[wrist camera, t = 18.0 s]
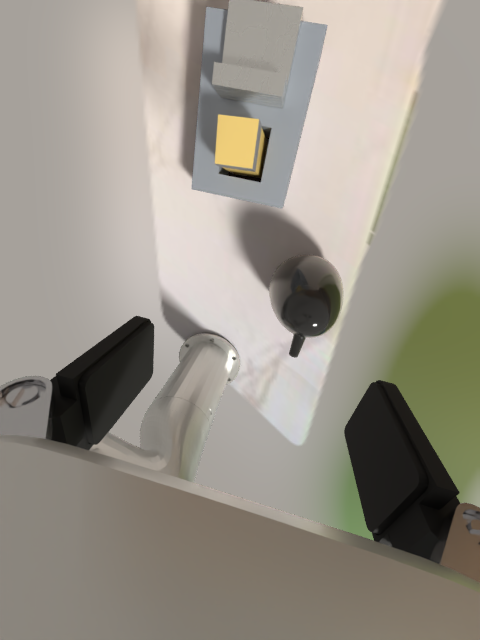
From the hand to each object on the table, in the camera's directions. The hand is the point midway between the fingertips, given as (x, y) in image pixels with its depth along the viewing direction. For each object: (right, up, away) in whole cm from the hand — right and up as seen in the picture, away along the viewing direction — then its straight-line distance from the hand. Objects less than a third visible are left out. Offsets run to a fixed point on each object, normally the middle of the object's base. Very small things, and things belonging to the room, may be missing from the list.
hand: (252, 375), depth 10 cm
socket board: (+1, +27, +21) cm, 34 cm away
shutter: (+1, +29, +14) cm, 32 cm away
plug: (+1, +24, +22) cm, 33 cm away
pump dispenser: (+10, +8, +28) cm, 31 cm away
